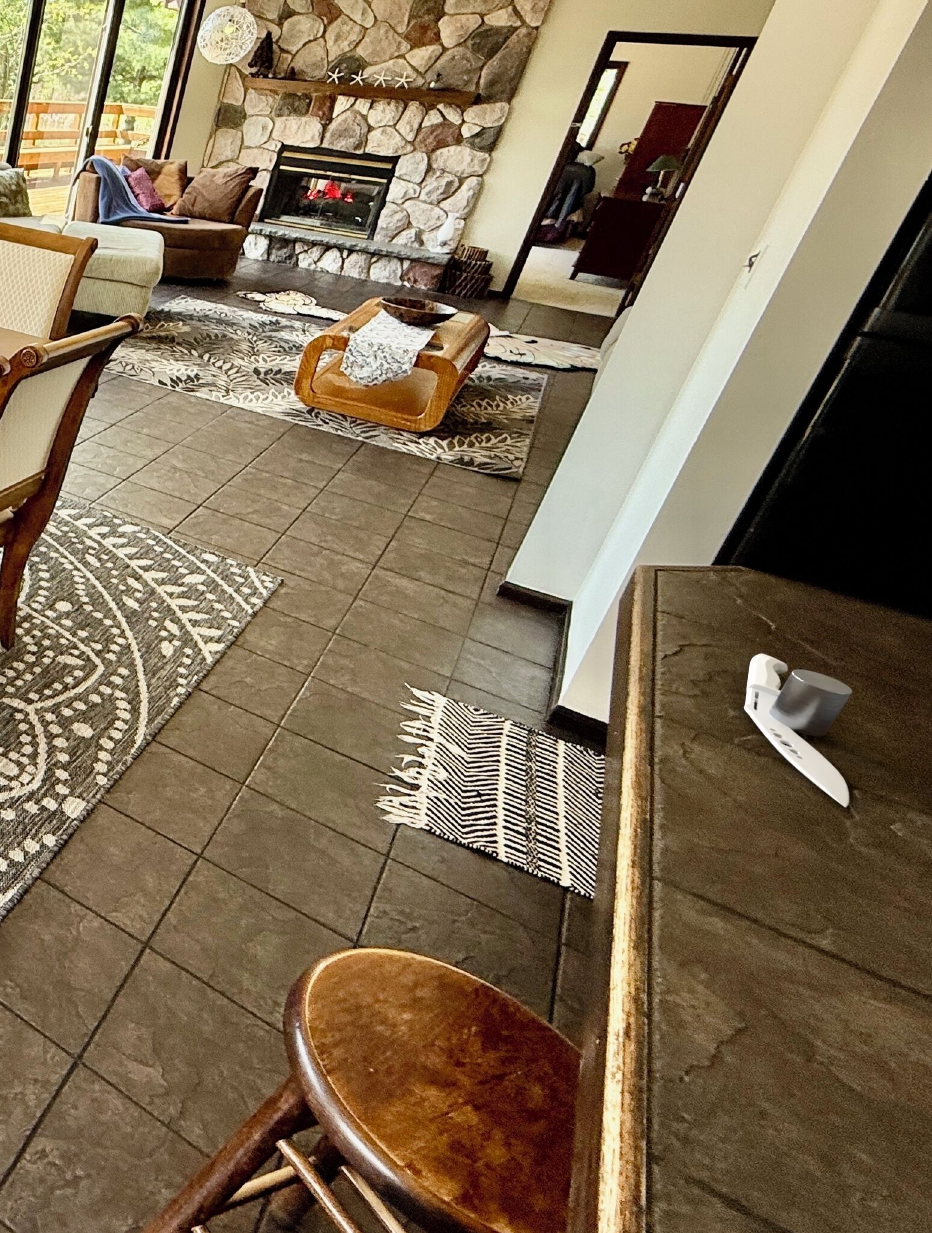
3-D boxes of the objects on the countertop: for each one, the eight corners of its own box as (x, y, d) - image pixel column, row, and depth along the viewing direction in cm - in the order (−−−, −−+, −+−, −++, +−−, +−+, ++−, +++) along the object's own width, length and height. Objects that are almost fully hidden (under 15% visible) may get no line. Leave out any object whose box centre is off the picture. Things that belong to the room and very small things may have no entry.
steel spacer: (835, 733, 96) (862, 690, 94) (811, 739, 94) (837, 696, 92) (782, 708, 99) (806, 666, 97) (758, 714, 98) (782, 672, 96)
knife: (854, 802, 84) (740, 758, 90) (844, 815, 85) (732, 770, 90) (847, 680, 103) (754, 649, 109) (840, 691, 104) (747, 660, 109)
